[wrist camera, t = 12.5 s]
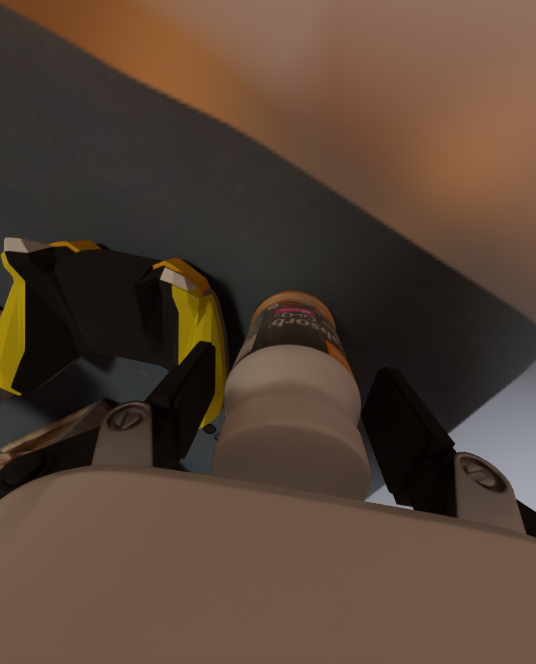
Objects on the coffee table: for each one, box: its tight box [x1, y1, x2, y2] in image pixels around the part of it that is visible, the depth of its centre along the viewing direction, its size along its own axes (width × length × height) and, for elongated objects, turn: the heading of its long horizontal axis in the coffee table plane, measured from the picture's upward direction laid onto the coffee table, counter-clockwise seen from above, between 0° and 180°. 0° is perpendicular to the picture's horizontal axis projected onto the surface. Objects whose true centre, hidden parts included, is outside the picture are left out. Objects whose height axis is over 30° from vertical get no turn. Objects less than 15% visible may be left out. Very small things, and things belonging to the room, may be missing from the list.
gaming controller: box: [0, 238, 230, 429], centre depth 14 cm, size 15×6×10 cm
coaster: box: [249, 291, 336, 330], centre depth 16 cm, size 6×6×1 cm
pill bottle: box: [212, 297, 371, 501], centre depth 11 cm, size 6×6×10 cm
